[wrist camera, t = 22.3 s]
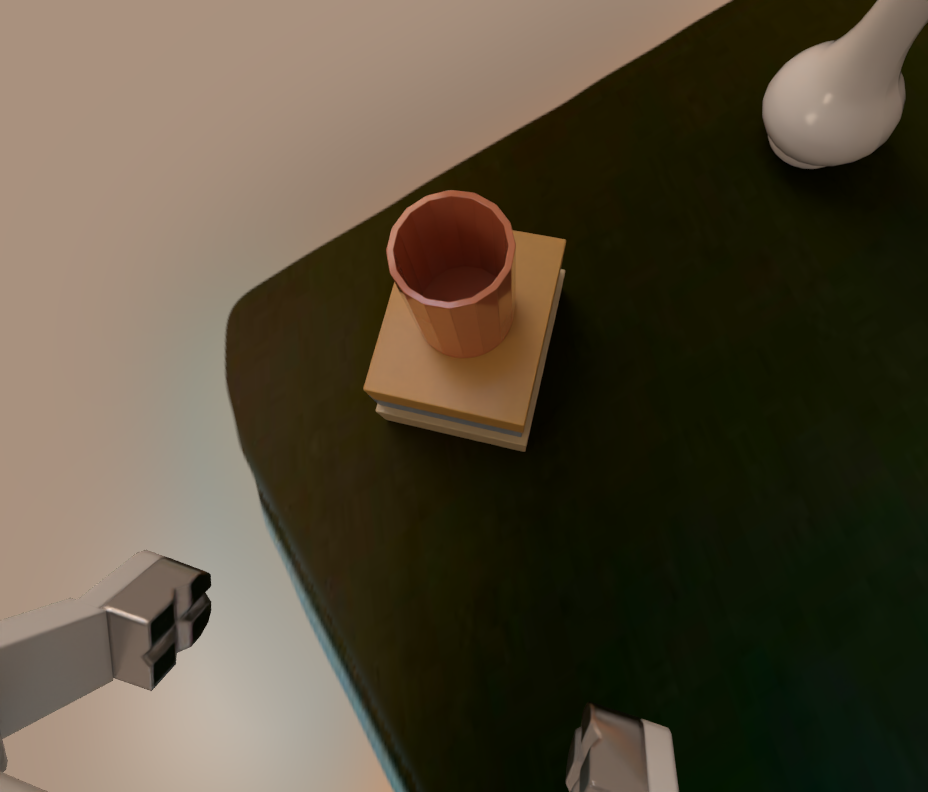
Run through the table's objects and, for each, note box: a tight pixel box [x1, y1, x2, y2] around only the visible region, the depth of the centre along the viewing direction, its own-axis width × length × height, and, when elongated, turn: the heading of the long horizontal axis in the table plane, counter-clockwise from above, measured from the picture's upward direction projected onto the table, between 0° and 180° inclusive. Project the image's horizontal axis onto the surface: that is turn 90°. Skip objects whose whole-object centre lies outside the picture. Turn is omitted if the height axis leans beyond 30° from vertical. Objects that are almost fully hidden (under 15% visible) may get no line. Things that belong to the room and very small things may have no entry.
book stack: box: [363, 230, 566, 452], centre depth 38 cm, size 11×13×9 cm
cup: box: [386, 190, 516, 358], centre depth 30 cm, size 6×6×8 cm
